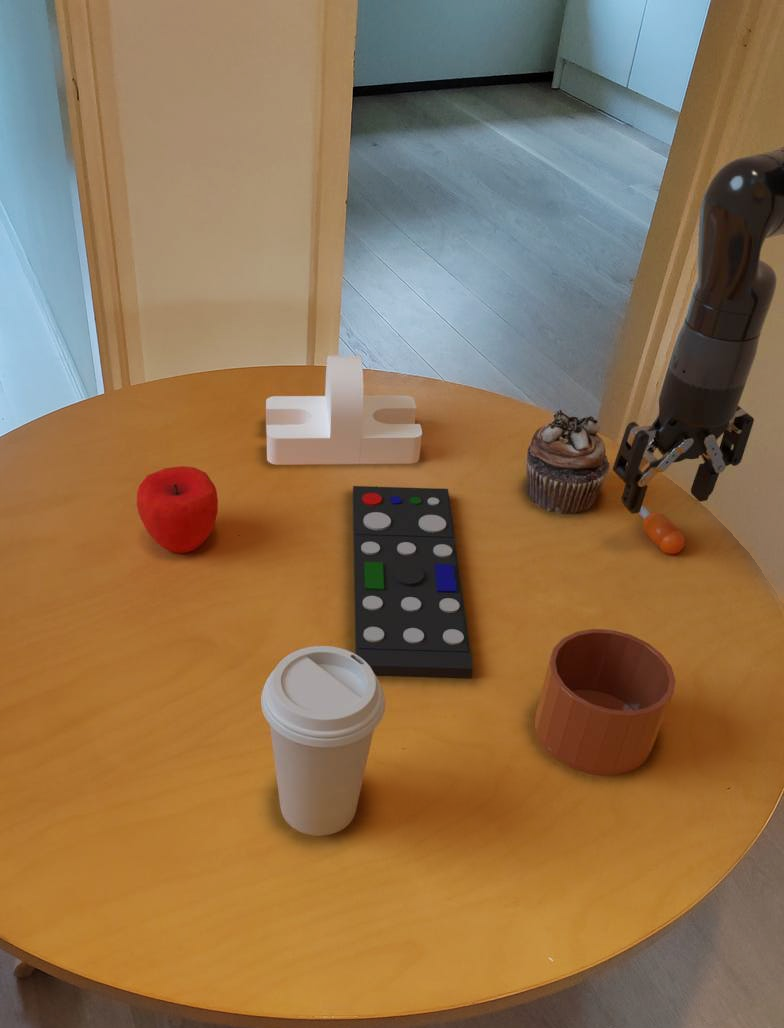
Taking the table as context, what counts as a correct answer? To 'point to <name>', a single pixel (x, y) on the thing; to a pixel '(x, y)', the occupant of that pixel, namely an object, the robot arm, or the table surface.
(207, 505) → the apple
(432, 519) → the remote control
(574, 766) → the utensil cup
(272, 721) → the coffee cup
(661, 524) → the orange double-bulb handle
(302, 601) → the table surface
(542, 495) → the cupcake
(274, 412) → the bracket
